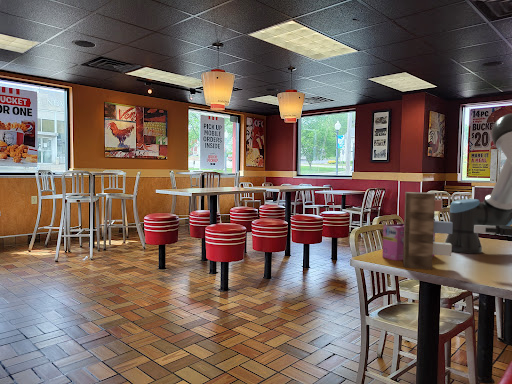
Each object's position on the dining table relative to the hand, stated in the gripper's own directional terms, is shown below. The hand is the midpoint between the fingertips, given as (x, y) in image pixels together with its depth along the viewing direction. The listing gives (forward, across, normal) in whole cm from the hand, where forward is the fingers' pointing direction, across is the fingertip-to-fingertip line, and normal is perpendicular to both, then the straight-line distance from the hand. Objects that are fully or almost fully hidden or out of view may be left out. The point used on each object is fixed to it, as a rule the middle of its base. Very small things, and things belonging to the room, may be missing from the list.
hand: (474, 228), depth 137 cm
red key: (+16, 0, +6) cm, 17 cm away
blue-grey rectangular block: (+12, 0, -2) cm, 12 cm away
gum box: (+21, +16, -15) cm, 30 cm away
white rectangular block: (+12, 0, -10) cm, 16 cm away
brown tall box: (+19, 0, -15) cm, 24 cm away
